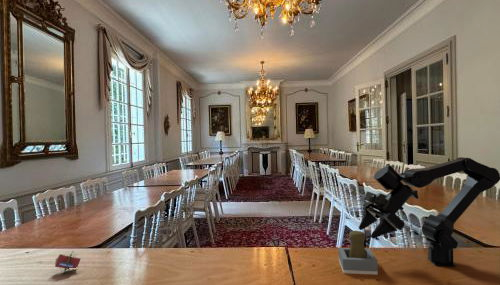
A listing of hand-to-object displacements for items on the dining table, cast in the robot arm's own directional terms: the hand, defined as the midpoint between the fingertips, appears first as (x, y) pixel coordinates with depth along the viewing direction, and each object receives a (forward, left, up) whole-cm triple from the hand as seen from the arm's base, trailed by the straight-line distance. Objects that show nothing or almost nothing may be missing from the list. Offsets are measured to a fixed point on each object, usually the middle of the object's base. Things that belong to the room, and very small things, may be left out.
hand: (365, 233), depth 103 cm
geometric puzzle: (+101, +14, -12) cm, 103 cm away
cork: (+3, +1, -10) cm, 11 cm away
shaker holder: (+3, +1, -11) cm, 12 cm away
